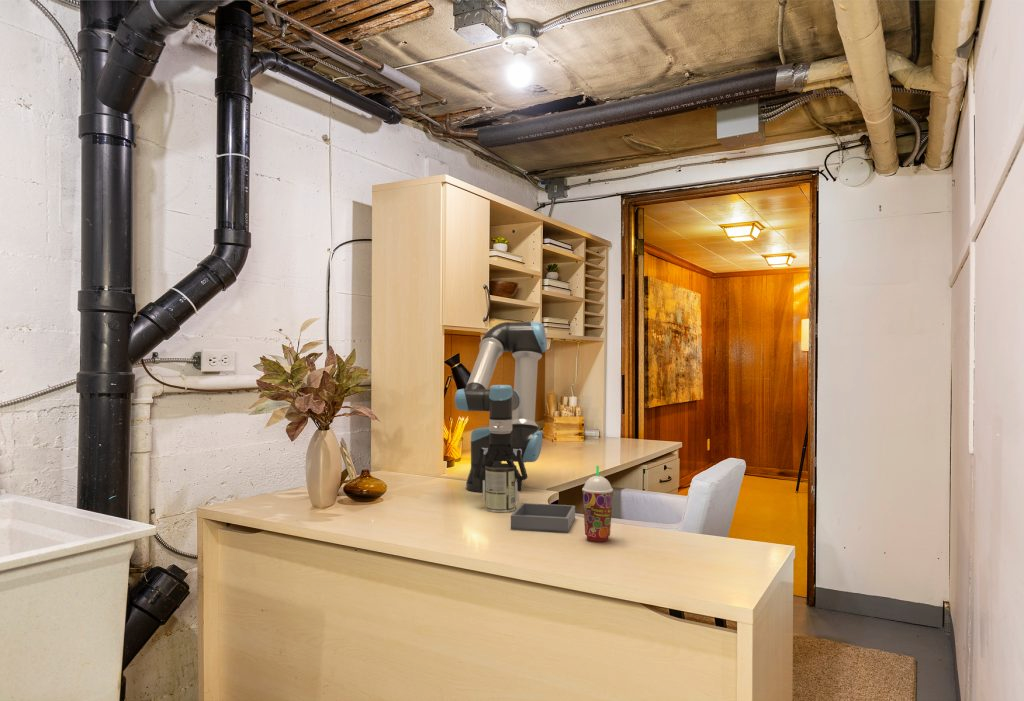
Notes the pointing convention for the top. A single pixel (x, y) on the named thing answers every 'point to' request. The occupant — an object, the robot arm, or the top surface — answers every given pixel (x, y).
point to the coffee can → (500, 488)
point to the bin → (543, 517)
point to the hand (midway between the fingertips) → (500, 500)
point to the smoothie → (597, 507)
